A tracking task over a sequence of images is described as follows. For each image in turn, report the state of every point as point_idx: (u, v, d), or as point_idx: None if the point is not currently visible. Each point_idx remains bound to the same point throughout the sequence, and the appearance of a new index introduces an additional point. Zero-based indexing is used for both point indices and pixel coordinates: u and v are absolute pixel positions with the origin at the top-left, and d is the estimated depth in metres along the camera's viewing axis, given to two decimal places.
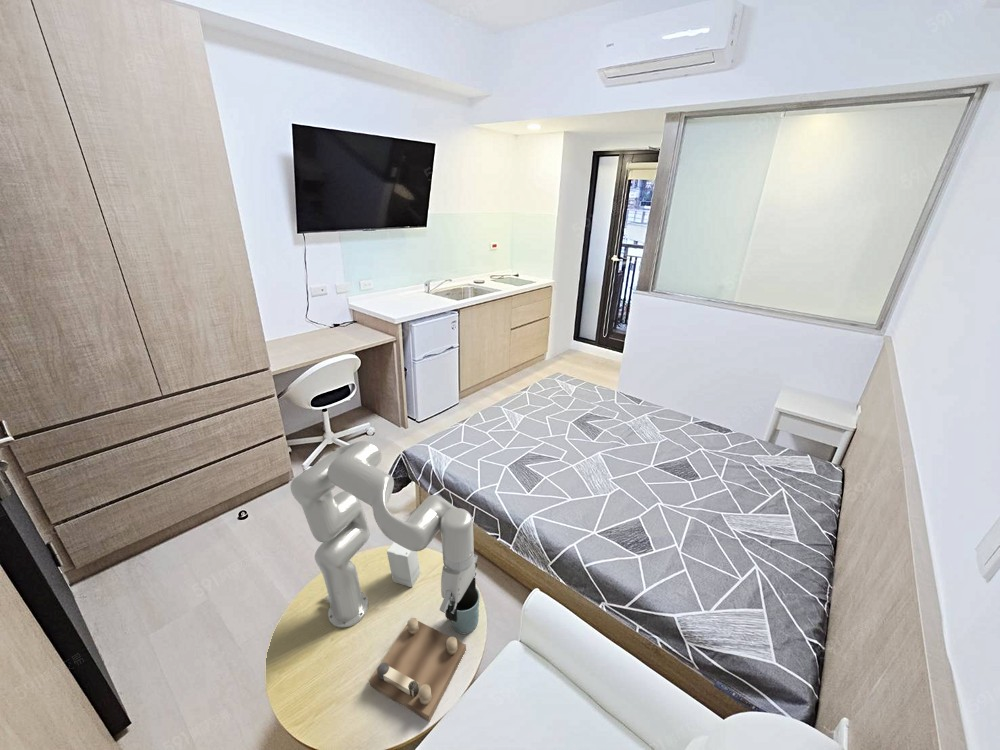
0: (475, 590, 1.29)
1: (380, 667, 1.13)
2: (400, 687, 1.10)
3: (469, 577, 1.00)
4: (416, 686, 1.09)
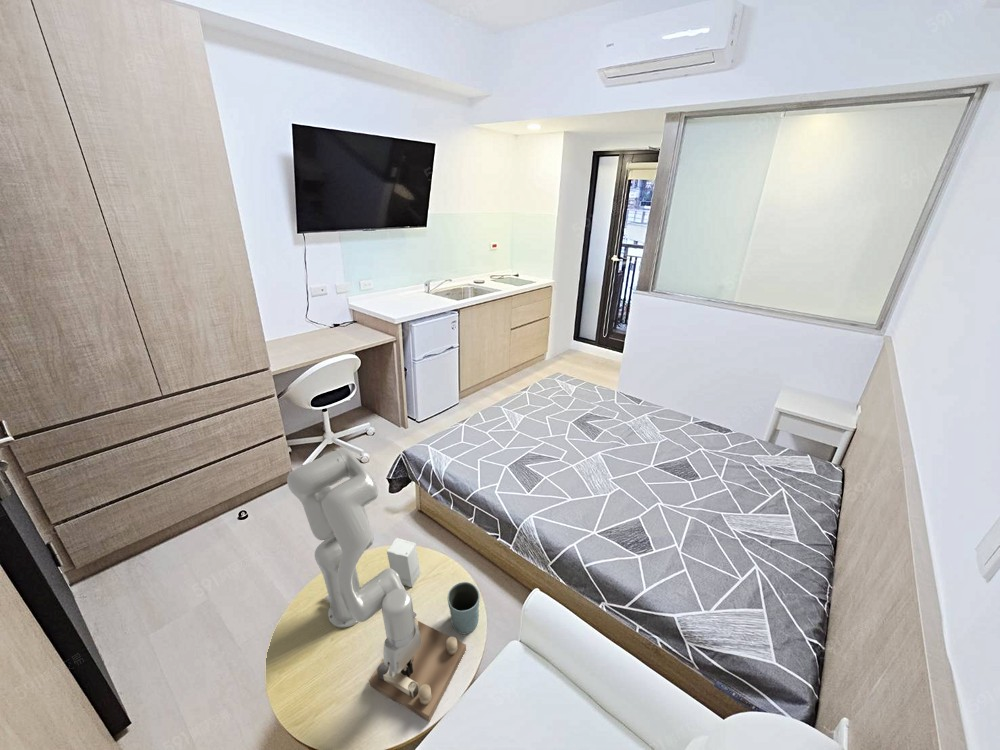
0: (475, 590, 1.29)
1: (380, 667, 1.13)
2: (400, 687, 1.10)
3: (411, 650, 1.08)
4: (416, 687, 1.09)
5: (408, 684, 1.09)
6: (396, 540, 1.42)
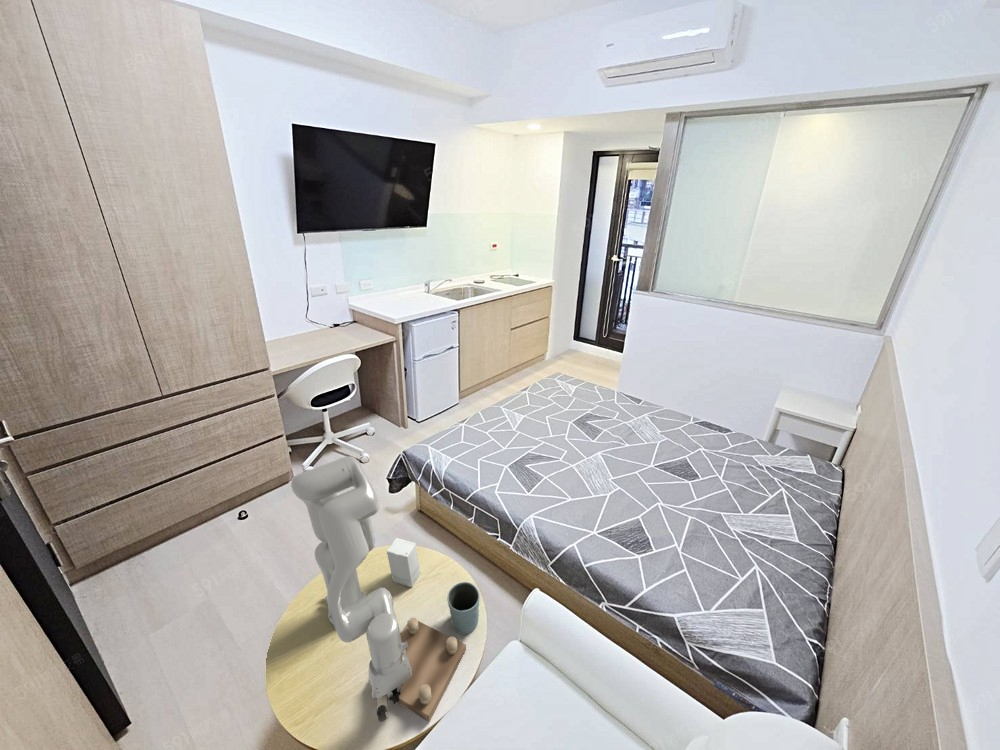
0: (475, 590, 1.29)
1: None
2: None
3: (396, 680, 1.02)
4: (382, 714, 1.03)
5: (381, 704, 1.05)
6: (396, 540, 1.42)
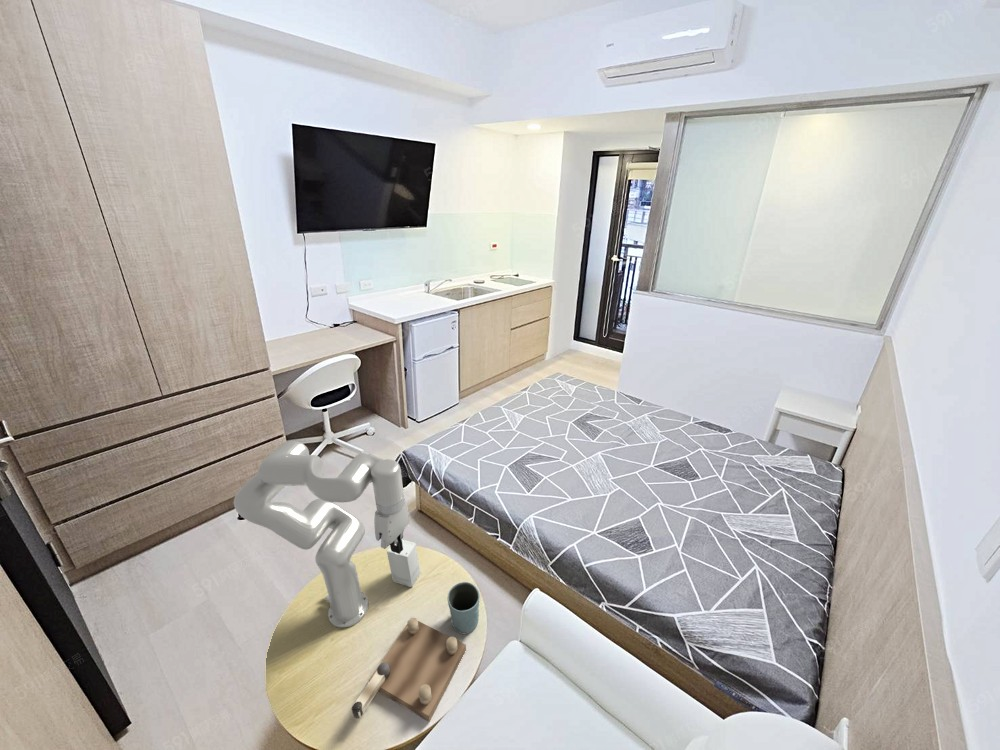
0: (475, 590, 1.29)
1: (385, 665, 1.14)
2: None
3: (401, 523, 1.13)
4: (355, 711, 1.04)
5: (360, 701, 1.06)
6: None
